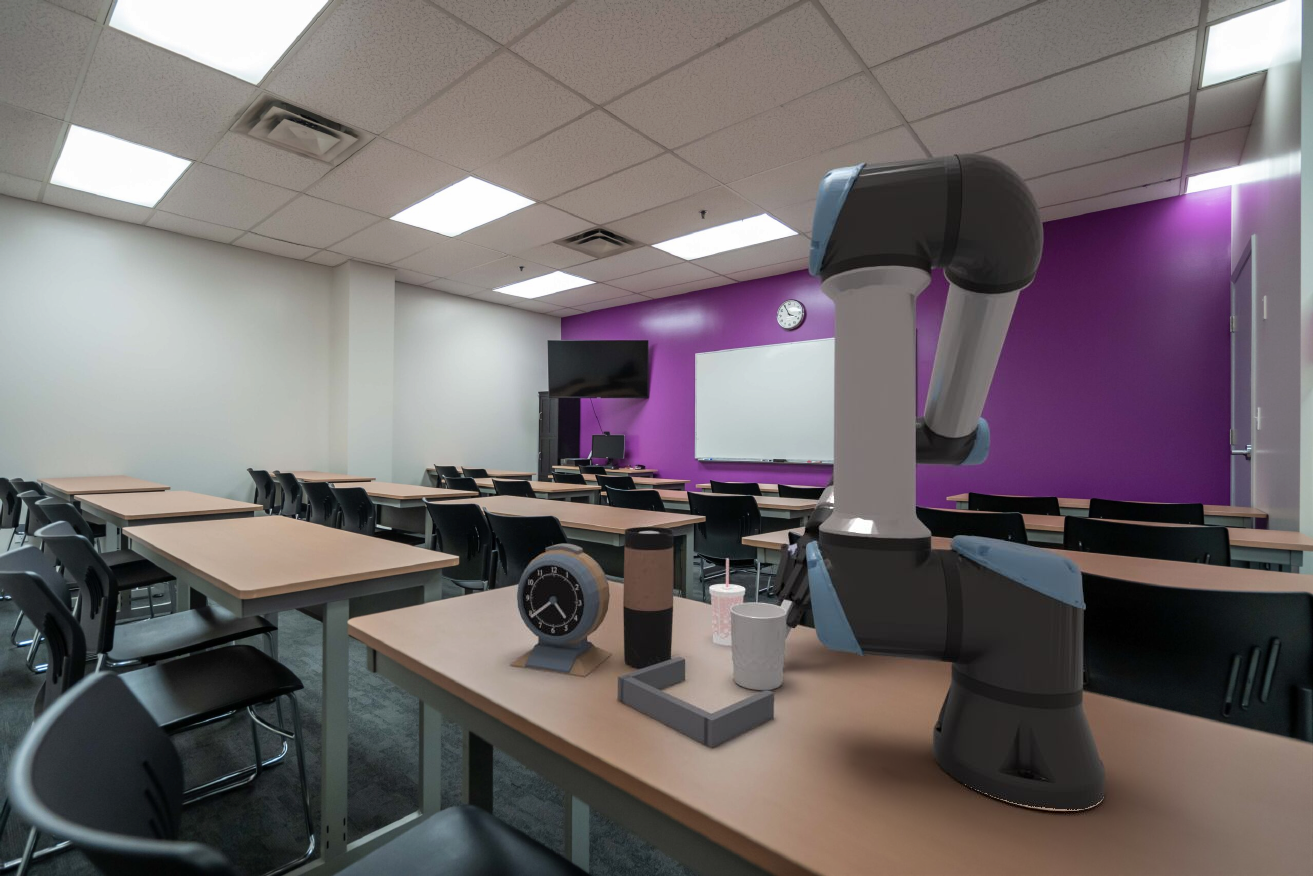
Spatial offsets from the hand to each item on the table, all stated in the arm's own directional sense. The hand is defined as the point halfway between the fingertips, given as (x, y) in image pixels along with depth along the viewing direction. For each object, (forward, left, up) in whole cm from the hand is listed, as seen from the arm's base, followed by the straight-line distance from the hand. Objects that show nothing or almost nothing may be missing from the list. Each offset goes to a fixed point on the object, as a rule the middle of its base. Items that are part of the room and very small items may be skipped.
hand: (773, 642), depth 88 cm
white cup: (-2, +4, -4) cm, 6 cm away
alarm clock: (+15, +28, -4) cm, 32 cm away
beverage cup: (+14, 0, -4) cm, 15 cm away
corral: (-7, +17, -4) cm, 18 cm away
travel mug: (+10, +16, -4) cm, 19 cm away
